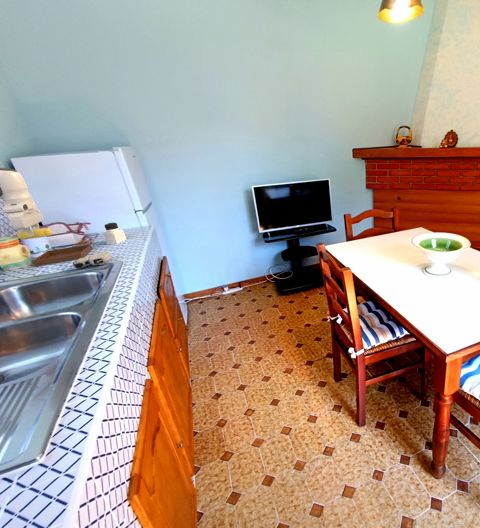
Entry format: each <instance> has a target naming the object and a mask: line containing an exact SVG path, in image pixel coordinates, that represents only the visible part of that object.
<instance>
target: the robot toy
mask: <svg viewBox="0 0 480 528" xmlns="http://www.w3.org/2000/svg"><path fill="white" fill-rule="evenodd" d="M111 259H112V255H111V250H108V251H102V252H98V253H95V254H92V255H91V256H90V257H89V256H85V257H84V258H80V259H78V260H73V261H74V262H72V266H70V269H79V268H81V269H82V268H83V269H84V268H86V267H88V266H91V265H93V266H96V265H98V266H103V265H105V264H106V263H108V262H109V261H110V260H111Z"/></svg>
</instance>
